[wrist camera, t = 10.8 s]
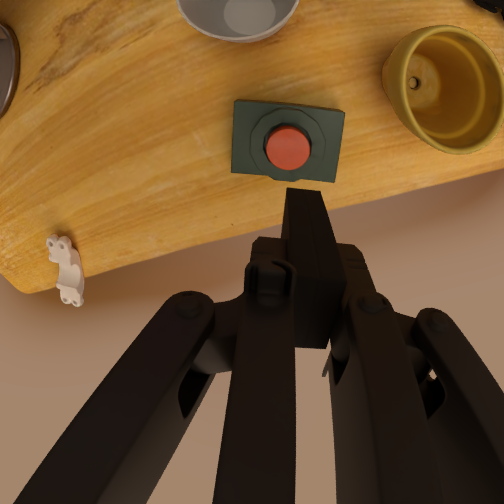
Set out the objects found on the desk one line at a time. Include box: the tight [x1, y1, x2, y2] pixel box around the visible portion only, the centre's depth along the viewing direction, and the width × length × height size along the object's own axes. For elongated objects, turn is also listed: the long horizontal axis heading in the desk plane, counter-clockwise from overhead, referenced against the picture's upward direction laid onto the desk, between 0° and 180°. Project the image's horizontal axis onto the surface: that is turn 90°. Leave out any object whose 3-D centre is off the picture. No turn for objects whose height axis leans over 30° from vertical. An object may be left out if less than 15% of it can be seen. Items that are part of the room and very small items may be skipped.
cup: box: [176, 0, 299, 43], centre depth 18 cm, size 8×8×10 cm
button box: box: [231, 99, 345, 183], centre depth 27 cm, size 10×7×4 cm
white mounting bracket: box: [46, 234, 84, 307], centre depth 39 cm, size 12×2×4 cm
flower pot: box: [382, 25, 504, 155], centre depth 20 cm, size 10×10×10 cm
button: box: [266, 126, 310, 170], centre depth 25 cm, size 4×4×2 cm
